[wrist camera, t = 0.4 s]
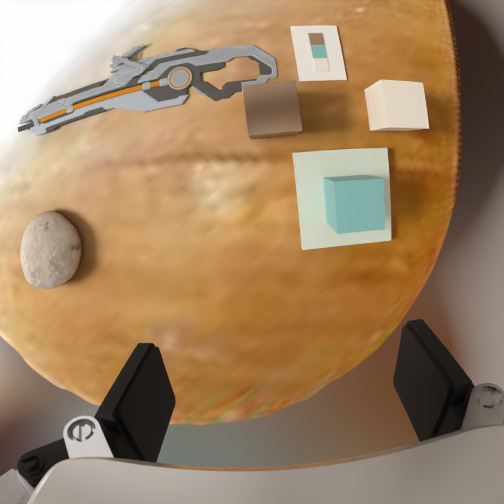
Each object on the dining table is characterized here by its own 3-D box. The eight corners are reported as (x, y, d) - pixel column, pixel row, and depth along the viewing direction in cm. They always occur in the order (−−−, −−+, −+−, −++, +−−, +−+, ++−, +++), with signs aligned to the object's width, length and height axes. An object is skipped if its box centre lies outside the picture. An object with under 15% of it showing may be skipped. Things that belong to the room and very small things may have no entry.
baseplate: (292, 153, 36) (293, 152, 35) (384, 147, 35) (387, 147, 34) (301, 247, 39) (302, 249, 38) (388, 238, 38) (391, 240, 37)
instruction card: (290, 26, 30) (290, 26, 30) (335, 26, 30) (336, 25, 30) (299, 81, 33) (299, 81, 33) (346, 80, 32) (347, 79, 32)
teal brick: (322, 177, 35) (333, 181, 30) (365, 174, 35) (383, 178, 29) (326, 222, 37) (337, 234, 31) (368, 218, 37) (385, 229, 31)
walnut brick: (245, 96, 34) (242, 85, 28) (290, 91, 33) (295, 80, 28) (251, 139, 35) (248, 135, 30) (296, 134, 35) (302, 130, 29)
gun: (278, 96, 35) (270, 27, 32) (280, 92, 33) (271, 21, 29) (26, 151, 37) (23, 93, 33) (18, 152, 34) (15, 92, 31)
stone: (80, 208, 44) (41, 192, 36) (97, 251, 40) (53, 238, 32) (44, 261, 45) (8, 252, 38) (58, 306, 41) (17, 301, 34)
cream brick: (364, 89, 33) (380, 79, 27) (402, 91, 32) (422, 82, 27) (369, 130, 34) (387, 127, 29) (407, 131, 34) (429, 128, 28)
